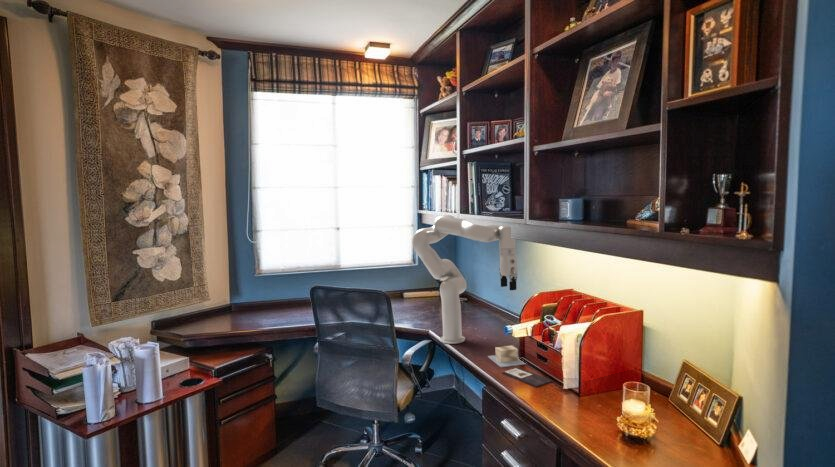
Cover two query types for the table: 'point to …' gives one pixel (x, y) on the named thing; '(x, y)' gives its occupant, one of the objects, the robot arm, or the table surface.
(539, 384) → the chocolate bar
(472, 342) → the table surface
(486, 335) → the table surface
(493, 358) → the desk mat
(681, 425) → the table surface
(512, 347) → the maple block
